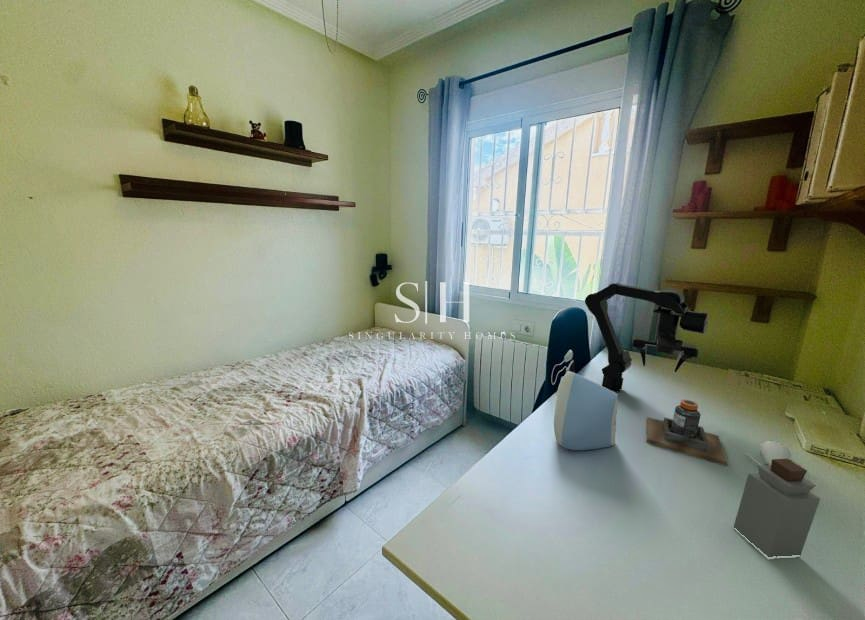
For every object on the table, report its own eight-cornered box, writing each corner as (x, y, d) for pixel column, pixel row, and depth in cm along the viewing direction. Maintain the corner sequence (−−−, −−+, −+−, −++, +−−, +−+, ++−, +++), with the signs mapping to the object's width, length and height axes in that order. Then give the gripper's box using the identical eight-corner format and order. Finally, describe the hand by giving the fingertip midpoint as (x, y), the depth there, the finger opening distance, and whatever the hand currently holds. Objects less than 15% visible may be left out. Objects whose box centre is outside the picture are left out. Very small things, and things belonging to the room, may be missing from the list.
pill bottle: (693, 435, 98) (701, 400, 96) (696, 445, 94) (704, 409, 91) (669, 428, 101) (676, 395, 99) (670, 438, 97) (678, 403, 94)
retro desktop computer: (571, 345, 104) (631, 359, 93) (572, 401, 114) (626, 420, 103) (533, 391, 89) (599, 414, 77) (538, 452, 98) (596, 480, 87)
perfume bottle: (733, 528, 69) (754, 453, 64) (762, 526, 69) (785, 452, 65) (767, 559, 62) (793, 478, 58) (799, 557, 63) (827, 477, 58)
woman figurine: (808, 448, 88) (810, 486, 76) (804, 462, 89) (805, 501, 78) (749, 429, 96) (743, 461, 85) (746, 442, 98) (739, 475, 86)
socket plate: (646, 442, 96) (648, 431, 96) (646, 420, 108) (648, 410, 107) (726, 466, 87) (729, 453, 86) (717, 439, 99) (719, 428, 98)
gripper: (635, 327, 112) (628, 370, 115) (705, 337, 102) (694, 383, 106) (635, 320, 121) (629, 360, 124) (700, 329, 111) (690, 372, 115)
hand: (659, 368), depth 117 cm, fingers open, 9 cm apart
